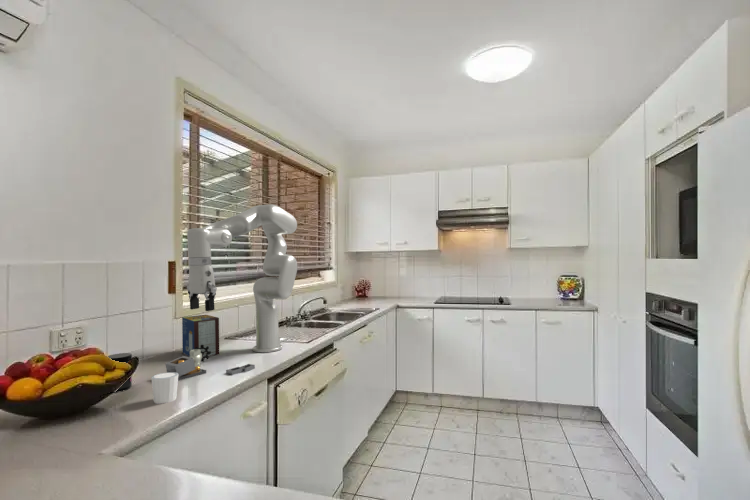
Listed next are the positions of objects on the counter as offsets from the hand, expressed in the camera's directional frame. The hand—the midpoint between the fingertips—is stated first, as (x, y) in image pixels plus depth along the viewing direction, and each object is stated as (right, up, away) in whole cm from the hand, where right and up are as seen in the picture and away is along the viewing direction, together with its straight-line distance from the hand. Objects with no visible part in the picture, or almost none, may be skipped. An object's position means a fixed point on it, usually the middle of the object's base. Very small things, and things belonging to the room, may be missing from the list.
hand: (202, 309), depth 141 cm
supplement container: (-17, -22, -20) cm, 34 cm away
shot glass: (+3, -21, -30) cm, 37 cm away
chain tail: (+14, -22, -3) cm, 26 cm away
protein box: (-12, -23, +25) cm, 36 cm away
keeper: (-3, -22, -7) cm, 23 cm away
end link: (-4, -20, -8) cm, 22 cm away
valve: (-5, -22, +7) cm, 24 cm away
